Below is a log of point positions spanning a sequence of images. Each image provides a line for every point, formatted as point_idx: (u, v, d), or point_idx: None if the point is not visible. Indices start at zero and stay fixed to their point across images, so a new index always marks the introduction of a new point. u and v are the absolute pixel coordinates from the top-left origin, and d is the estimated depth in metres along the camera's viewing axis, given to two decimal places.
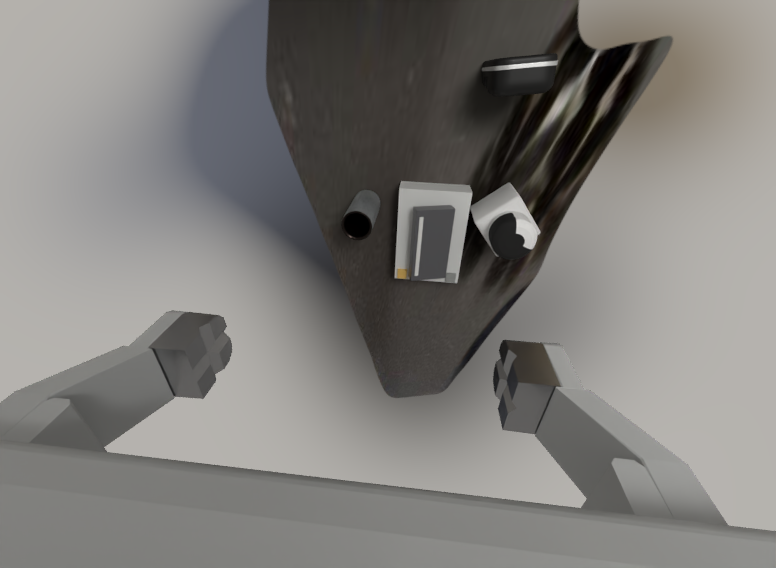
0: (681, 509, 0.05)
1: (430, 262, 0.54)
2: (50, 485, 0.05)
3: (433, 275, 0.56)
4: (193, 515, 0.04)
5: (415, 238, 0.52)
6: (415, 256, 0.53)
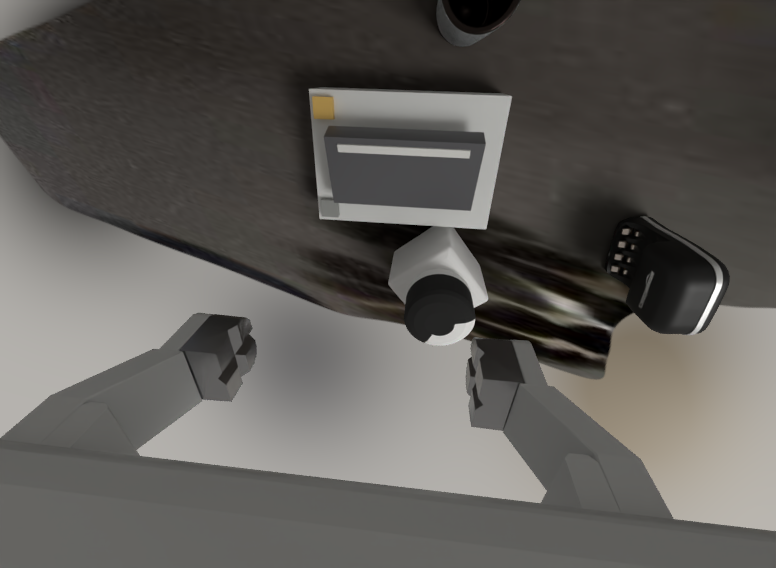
0: (629, 503, 0.05)
1: (368, 173, 0.27)
2: (51, 485, 0.05)
3: (339, 181, 0.28)
4: (193, 515, 0.04)
5: (424, 143, 0.25)
6: (382, 144, 0.25)
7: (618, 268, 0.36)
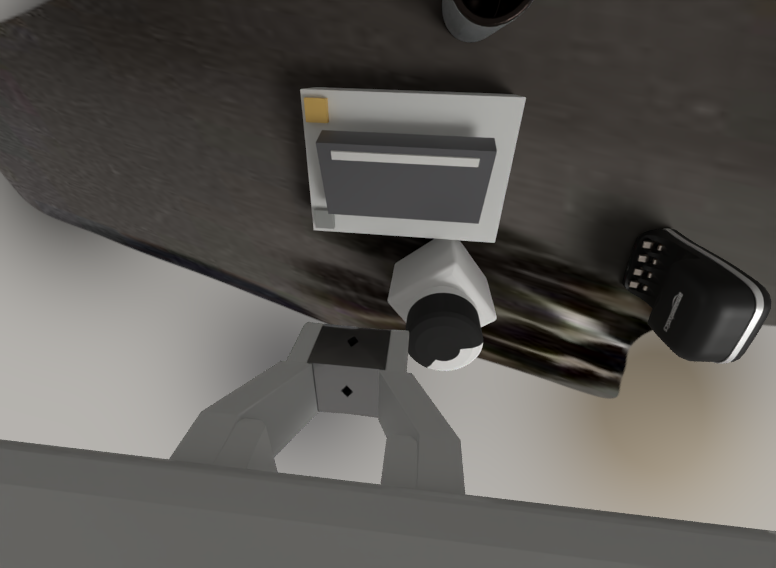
0: (429, 480, 0.06)
1: (365, 183, 0.25)
2: (51, 486, 0.05)
3: (333, 191, 0.26)
4: (193, 515, 0.04)
5: (428, 150, 0.22)
6: (380, 152, 0.23)
7: (637, 284, 0.33)
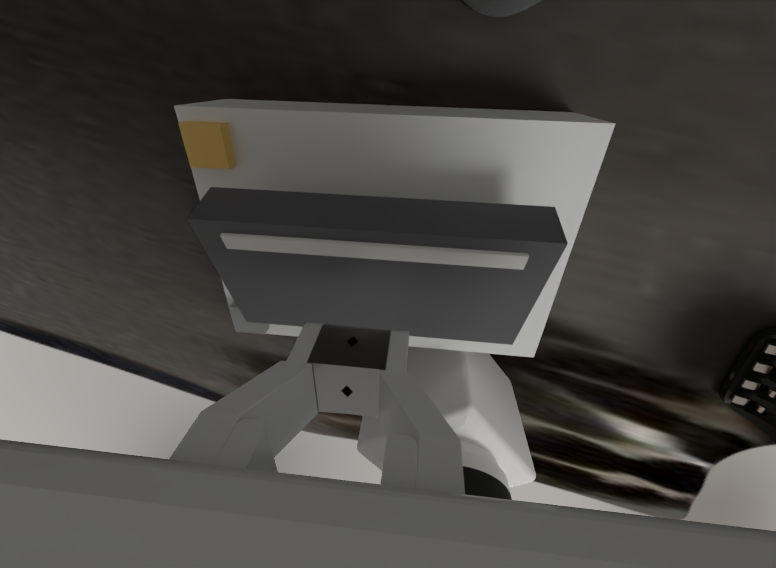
0: (429, 480, 0.06)
1: (302, 284, 0.13)
2: (50, 486, 0.05)
3: (246, 294, 0.14)
4: (193, 515, 0.04)
5: (420, 238, 0.11)
6: (322, 237, 0.11)
7: (747, 400, 0.21)
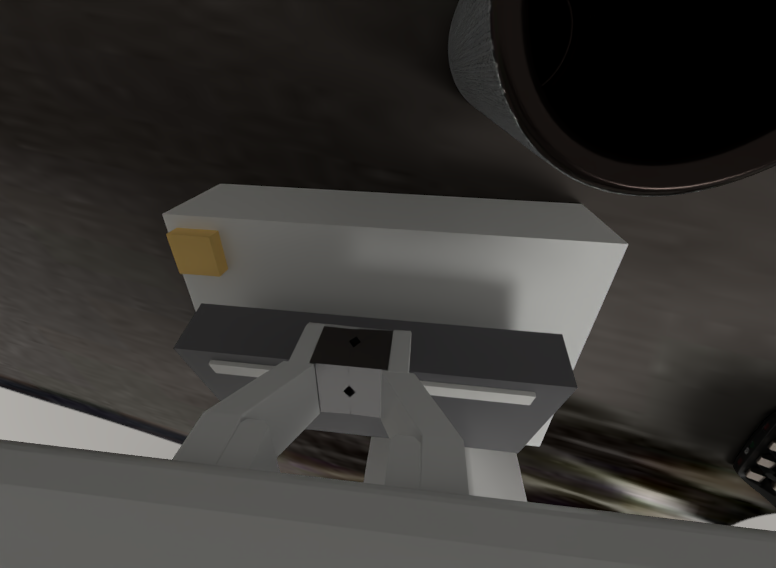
0: (433, 480, 0.06)
1: None
2: (50, 485, 0.05)
3: None
4: (193, 515, 0.04)
5: (419, 374, 0.10)
6: None
7: (763, 477, 0.20)
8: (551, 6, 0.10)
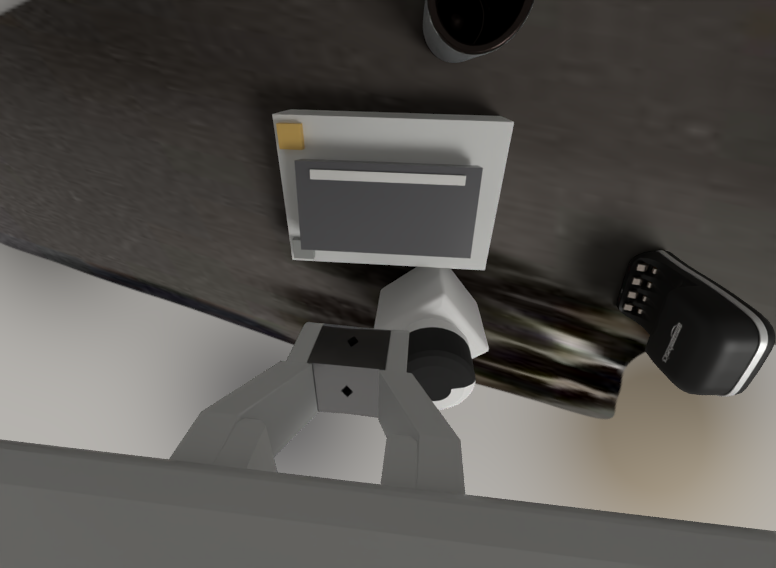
0: (429, 480, 0.06)
1: (345, 208, 0.23)
2: (51, 485, 0.05)
3: (309, 220, 0.23)
4: (193, 515, 0.04)
5: (412, 167, 0.21)
6: (362, 170, 0.22)
7: (632, 306, 0.32)
8: (472, 3, 0.21)
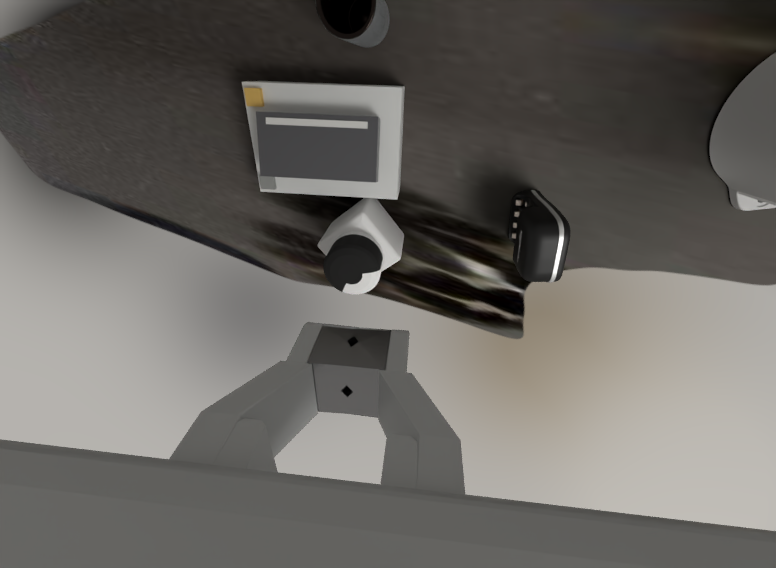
0: (429, 480, 0.06)
1: (289, 145, 0.34)
2: (50, 486, 0.05)
3: (265, 153, 0.34)
4: (193, 515, 0.04)
5: (332, 116, 0.32)
6: (300, 118, 0.33)
7: None
8: None
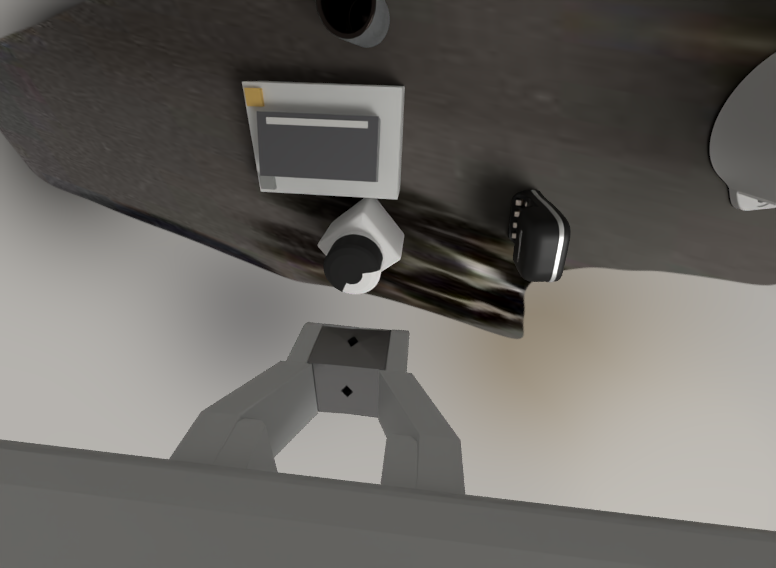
0: (429, 480, 0.06)
1: (289, 145, 0.34)
2: (51, 484, 0.05)
3: (265, 153, 0.34)
4: (193, 515, 0.04)
5: (332, 116, 0.33)
6: (300, 118, 0.33)
7: None
8: None
